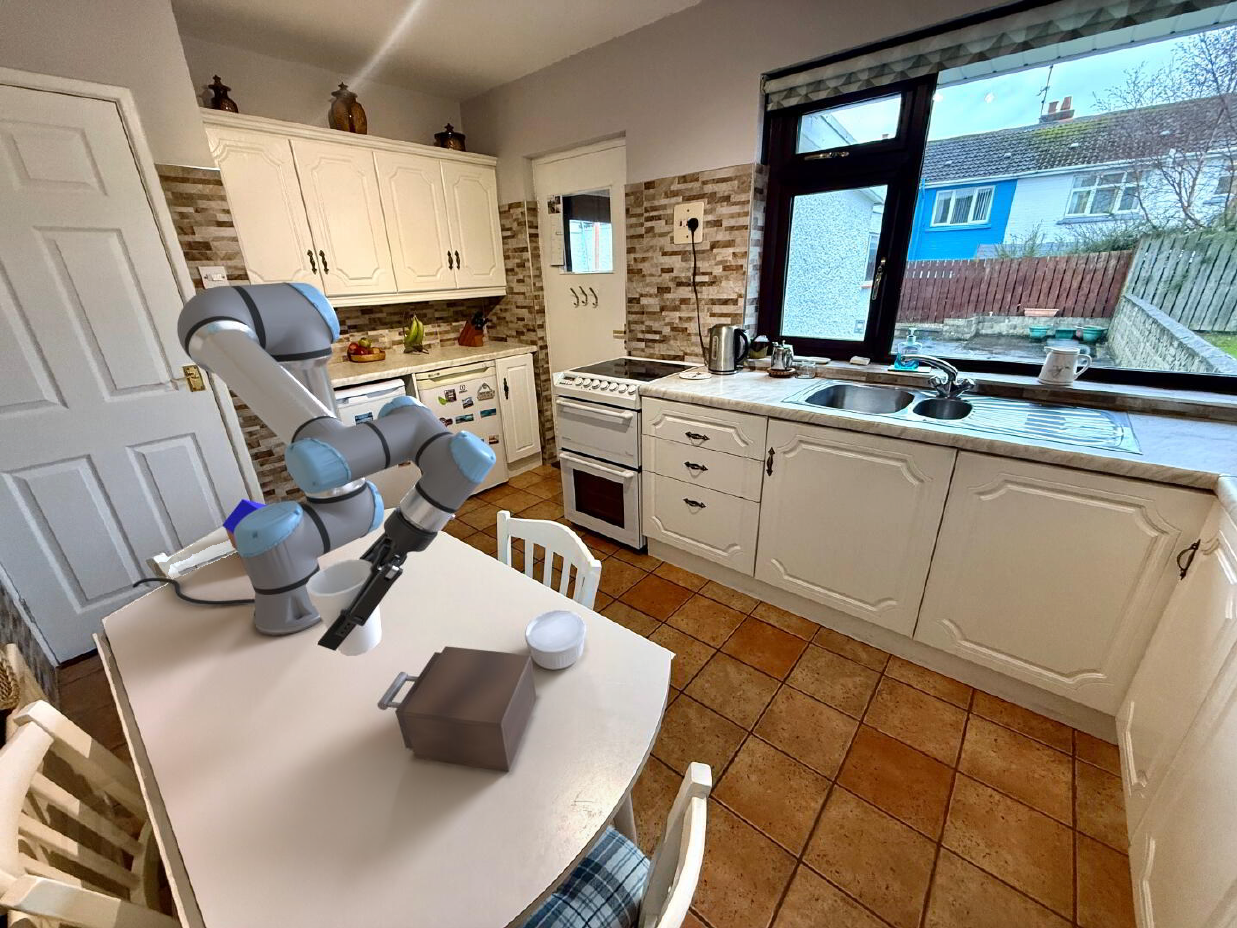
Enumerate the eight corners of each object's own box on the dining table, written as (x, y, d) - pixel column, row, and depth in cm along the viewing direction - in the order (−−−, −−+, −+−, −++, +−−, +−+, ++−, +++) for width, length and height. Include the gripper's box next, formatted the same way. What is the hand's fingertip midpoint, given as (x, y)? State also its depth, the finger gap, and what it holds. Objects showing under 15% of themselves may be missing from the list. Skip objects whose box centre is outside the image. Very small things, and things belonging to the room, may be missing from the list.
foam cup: (365, 667, 75) (344, 600, 70) (314, 659, 77) (290, 592, 72) (402, 625, 83) (386, 562, 78) (356, 618, 85) (337, 556, 80)
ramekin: (545, 625, 97) (542, 603, 95) (596, 637, 93) (595, 615, 91) (516, 666, 87) (512, 643, 85) (572, 681, 84) (570, 658, 82)
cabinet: (415, 758, 72) (402, 711, 68) (454, 688, 83) (445, 645, 79) (508, 771, 69) (500, 724, 66) (536, 698, 81) (530, 654, 77)
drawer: (373, 744, 73) (361, 706, 70) (414, 683, 83) (405, 648, 80) (491, 760, 70) (484, 722, 67) (518, 695, 80) (513, 660, 77)
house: (280, 527, 136) (268, 490, 131) (314, 549, 125) (301, 509, 121) (230, 547, 127) (215, 508, 122) (262, 572, 116) (246, 530, 112)
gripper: (442, 567, 68) (345, 683, 70) (438, 500, 87) (362, 592, 89) (393, 543, 64) (292, 666, 66) (400, 478, 84) (321, 575, 85)
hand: (332, 624), depth 77 cm, fingers closed on foam cup, 9 cm apart
